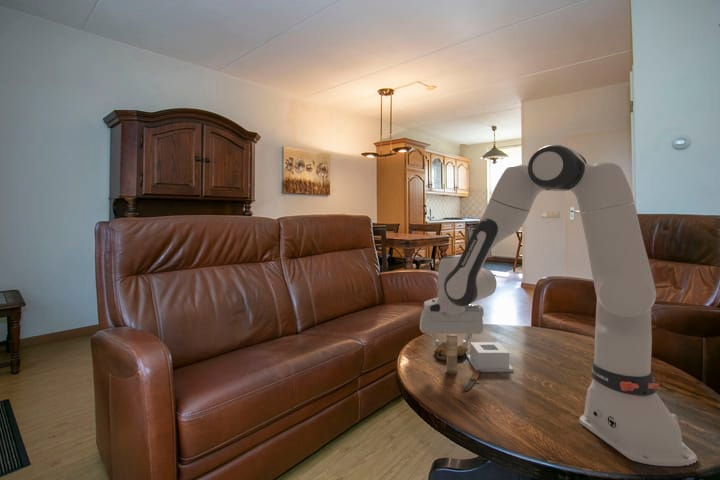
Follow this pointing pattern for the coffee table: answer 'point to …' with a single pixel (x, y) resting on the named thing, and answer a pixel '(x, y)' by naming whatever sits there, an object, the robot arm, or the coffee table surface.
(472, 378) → the knife
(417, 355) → the coffee table surface
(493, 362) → the socket
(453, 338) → the peg
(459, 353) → the decorative rock
